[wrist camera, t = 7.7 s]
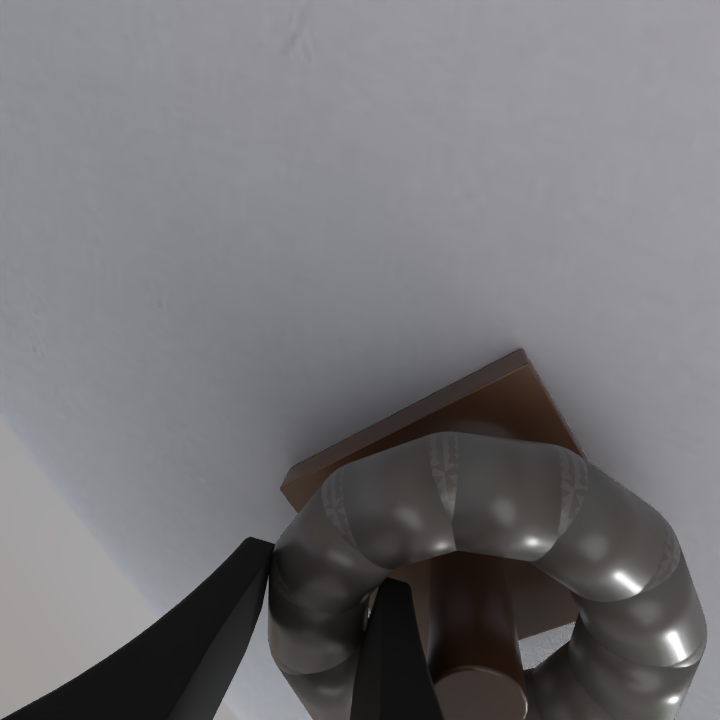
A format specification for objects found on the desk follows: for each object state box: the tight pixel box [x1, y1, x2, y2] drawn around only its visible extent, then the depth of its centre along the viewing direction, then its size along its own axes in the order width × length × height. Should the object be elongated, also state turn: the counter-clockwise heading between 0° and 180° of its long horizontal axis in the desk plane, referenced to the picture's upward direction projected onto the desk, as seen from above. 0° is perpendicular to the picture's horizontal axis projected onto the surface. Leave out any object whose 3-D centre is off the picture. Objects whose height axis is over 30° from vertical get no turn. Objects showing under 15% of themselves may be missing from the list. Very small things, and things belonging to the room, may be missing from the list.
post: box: [280, 349, 588, 720], centre depth 13 cm, size 8×8×6 cm
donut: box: [268, 431, 707, 720], centre depth 12 cm, size 10×10×2 cm
